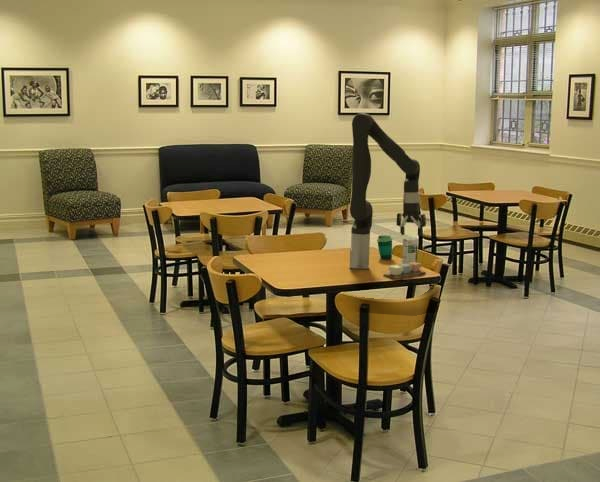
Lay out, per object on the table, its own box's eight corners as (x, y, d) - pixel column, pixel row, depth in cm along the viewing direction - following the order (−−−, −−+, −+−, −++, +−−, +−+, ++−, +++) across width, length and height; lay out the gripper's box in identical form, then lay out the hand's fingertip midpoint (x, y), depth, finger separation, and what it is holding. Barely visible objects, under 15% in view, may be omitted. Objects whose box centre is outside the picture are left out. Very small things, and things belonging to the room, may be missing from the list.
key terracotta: (414, 272, 383) (414, 264, 382) (406, 270, 387) (407, 263, 386) (420, 270, 386) (421, 263, 386) (413, 269, 390) (413, 261, 389)
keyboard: (397, 279, 373) (397, 277, 372) (383, 276, 379) (383, 273, 379) (425, 274, 386) (425, 271, 385) (411, 271, 392) (411, 268, 392)
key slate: (405, 273, 379) (405, 266, 378) (397, 272, 382) (398, 264, 382) (412, 272, 382) (412, 265, 381) (404, 270, 386) (404, 263, 385)
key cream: (396, 275, 375) (396, 268, 374) (388, 273, 378) (388, 266, 378) (402, 274, 378) (403, 266, 377) (395, 272, 381) (395, 265, 381)
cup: (391, 260, 416) (392, 238, 414) (375, 260, 417) (376, 237, 415) (392, 258, 424) (393, 235, 422) (377, 257, 425) (377, 234, 423)
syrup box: (406, 268, 399) (407, 239, 396) (401, 265, 405) (402, 237, 402) (416, 267, 401) (418, 239, 398) (412, 265, 406) (413, 236, 404)
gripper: (428, 201, 383) (427, 235, 385) (400, 200, 390) (400, 233, 393) (421, 202, 377) (421, 237, 379) (394, 201, 384) (394, 235, 386)
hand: (411, 235), depth 386 cm, fingers open, 8 cm apart
